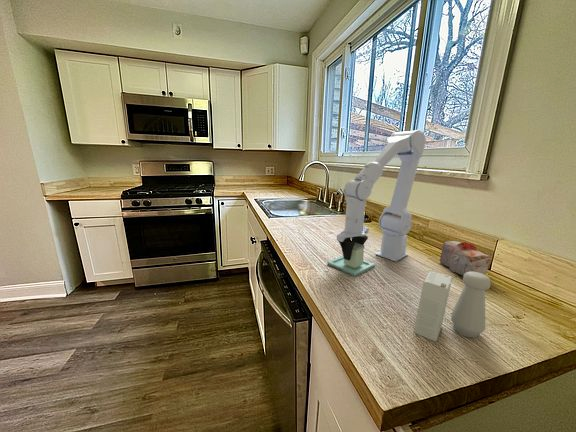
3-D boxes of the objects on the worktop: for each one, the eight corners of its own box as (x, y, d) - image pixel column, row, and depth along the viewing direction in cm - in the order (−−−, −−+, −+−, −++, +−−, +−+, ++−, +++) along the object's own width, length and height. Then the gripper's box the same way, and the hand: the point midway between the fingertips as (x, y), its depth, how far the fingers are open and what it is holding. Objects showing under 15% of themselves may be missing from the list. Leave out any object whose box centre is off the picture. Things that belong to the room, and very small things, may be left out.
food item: (491, 281, 70) (498, 250, 68) (466, 282, 70) (472, 251, 67) (456, 262, 84) (461, 235, 81) (434, 262, 83) (439, 236, 81)
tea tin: (351, 260, 82) (352, 241, 80) (363, 264, 78) (364, 245, 77) (343, 263, 79) (344, 244, 77) (354, 268, 75) (356, 248, 74)
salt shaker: (489, 343, 46) (504, 283, 43) (456, 338, 47) (469, 280, 44) (473, 323, 52) (485, 269, 49) (444, 320, 53) (454, 266, 50)
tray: (347, 256, 87) (347, 253, 87) (374, 266, 79) (374, 264, 78) (327, 264, 80) (327, 261, 80) (354, 276, 72) (355, 273, 72)
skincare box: (419, 318, 53) (427, 269, 51) (442, 327, 51) (453, 276, 48) (412, 333, 49) (421, 280, 46) (438, 344, 46) (448, 288, 43)
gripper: (351, 224, 68) (348, 267, 71) (378, 217, 77) (374, 255, 80) (332, 219, 73) (330, 259, 76) (359, 213, 82) (356, 249, 85)
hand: (351, 257), depth 79 cm, fingers closed on tea tin, 4 cm apart
